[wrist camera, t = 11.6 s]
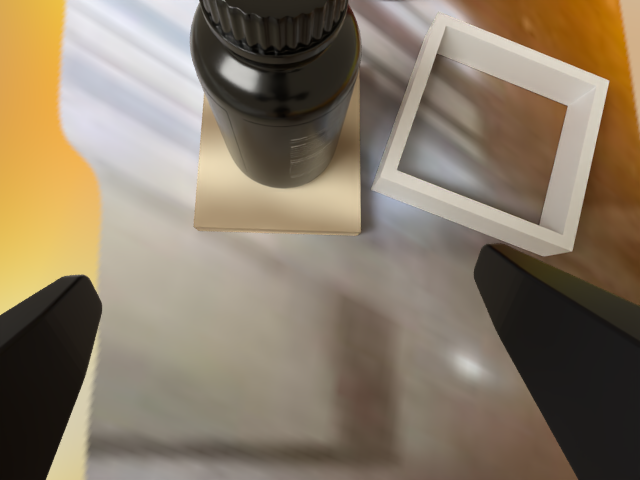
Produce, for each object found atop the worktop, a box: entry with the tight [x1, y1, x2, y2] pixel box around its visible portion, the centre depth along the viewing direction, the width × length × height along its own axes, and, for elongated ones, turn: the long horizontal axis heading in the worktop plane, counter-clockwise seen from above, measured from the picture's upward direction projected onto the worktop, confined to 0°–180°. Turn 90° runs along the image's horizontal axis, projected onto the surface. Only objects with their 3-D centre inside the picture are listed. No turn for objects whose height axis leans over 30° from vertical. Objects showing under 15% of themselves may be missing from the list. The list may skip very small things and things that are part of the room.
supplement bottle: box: [190, 0, 362, 189], centre depth 16 cm, size 7×7×12 cm
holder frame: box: [371, 12, 609, 257], centre depth 23 cm, size 13×13×2 cm
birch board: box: [194, 71, 361, 236], centre depth 22 cm, size 12×10×1 cm
